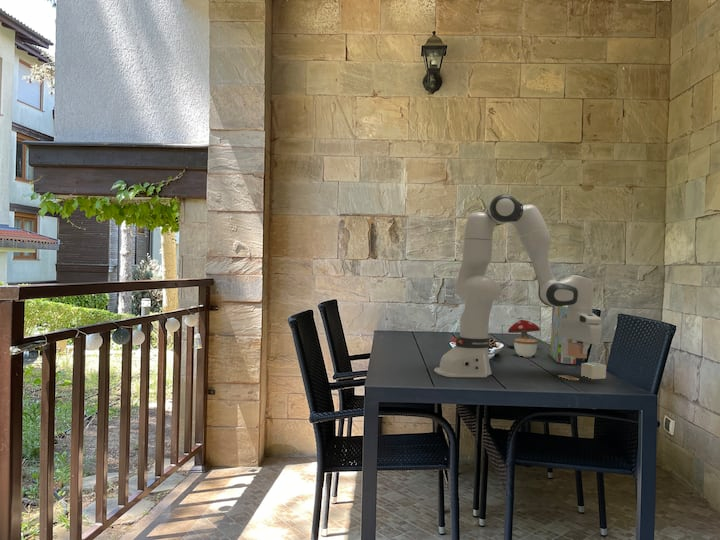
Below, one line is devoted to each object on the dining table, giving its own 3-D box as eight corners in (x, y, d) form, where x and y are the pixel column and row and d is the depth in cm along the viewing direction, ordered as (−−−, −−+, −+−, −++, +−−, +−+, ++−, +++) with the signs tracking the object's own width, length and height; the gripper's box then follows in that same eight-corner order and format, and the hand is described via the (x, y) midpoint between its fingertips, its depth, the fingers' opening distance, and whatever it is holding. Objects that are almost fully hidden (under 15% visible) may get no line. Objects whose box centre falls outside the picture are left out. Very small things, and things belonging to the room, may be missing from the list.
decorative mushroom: (505, 349, 266) (506, 320, 266) (509, 345, 281) (510, 317, 281) (538, 352, 260) (539, 322, 260) (540, 347, 275) (541, 319, 274)
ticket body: (591, 379, 199) (592, 365, 198) (581, 375, 204) (581, 362, 204) (605, 378, 200) (606, 365, 200) (594, 375, 206) (595, 362, 206)
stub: (577, 358, 197) (578, 345, 197) (567, 355, 202) (568, 342, 202) (586, 358, 198) (587, 345, 198) (576, 355, 203) (576, 342, 203)
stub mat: (569, 380, 195) (569, 379, 195) (557, 376, 202) (557, 375, 202) (579, 380, 196) (579, 379, 196) (567, 376, 203) (567, 375, 203)
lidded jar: (539, 356, 248) (540, 336, 248) (533, 359, 239) (534, 339, 239) (517, 353, 254) (517, 334, 254) (510, 356, 245) (511, 336, 245)
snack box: (578, 365, 227) (579, 306, 227) (557, 364, 229) (558, 306, 228) (568, 356, 248) (570, 303, 248) (549, 355, 250) (550, 302, 250)
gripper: (555, 313, 209) (553, 347, 209) (590, 319, 189) (588, 356, 189) (568, 314, 211) (566, 347, 211) (605, 319, 191) (602, 357, 191)
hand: (577, 352), depth 200 cm, fingers closed on stub, 6 cm apart
